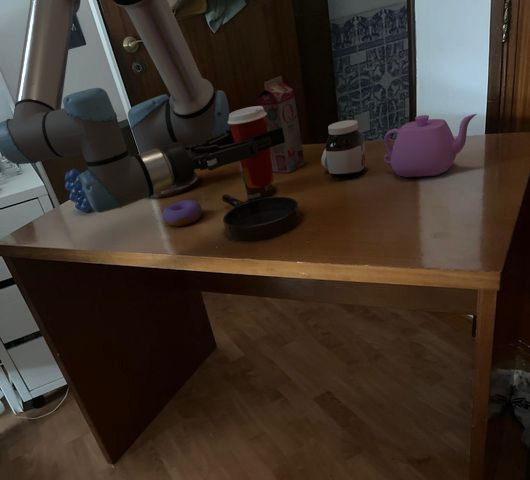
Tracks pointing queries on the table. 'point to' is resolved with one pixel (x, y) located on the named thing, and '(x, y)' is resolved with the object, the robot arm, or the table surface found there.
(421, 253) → the table surface
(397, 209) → the table surface
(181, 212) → the donut
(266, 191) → the food container
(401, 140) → the teapot
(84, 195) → the grapes
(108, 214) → the table surface
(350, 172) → the spread jar
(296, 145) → the juice carton
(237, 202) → the pan handle
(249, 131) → the paper cup
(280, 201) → the pan
